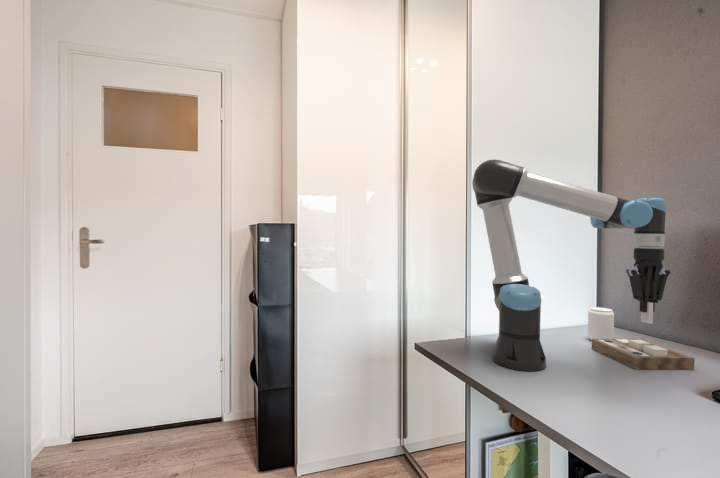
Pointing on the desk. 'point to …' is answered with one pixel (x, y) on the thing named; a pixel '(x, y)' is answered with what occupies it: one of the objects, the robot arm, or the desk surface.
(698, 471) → the desk surface
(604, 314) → the white cylindrical container
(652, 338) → the desk surface
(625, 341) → the button left
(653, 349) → the button right
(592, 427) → the desk surface
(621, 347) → the board
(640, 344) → the button mid
